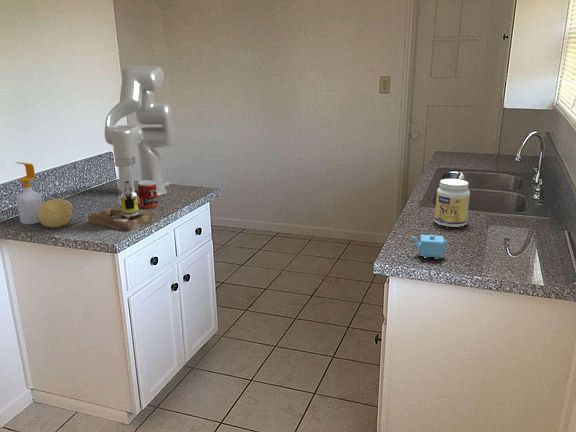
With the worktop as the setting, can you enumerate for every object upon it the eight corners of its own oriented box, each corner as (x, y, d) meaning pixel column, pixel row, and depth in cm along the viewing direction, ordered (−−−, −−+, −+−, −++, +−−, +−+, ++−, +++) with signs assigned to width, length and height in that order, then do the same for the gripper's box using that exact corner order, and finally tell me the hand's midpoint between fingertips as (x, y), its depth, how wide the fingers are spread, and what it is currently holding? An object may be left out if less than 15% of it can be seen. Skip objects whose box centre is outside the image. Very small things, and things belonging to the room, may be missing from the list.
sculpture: (58, 231, 203) (54, 204, 199) (33, 228, 207) (29, 201, 203) (79, 222, 213) (75, 196, 209) (55, 219, 217) (51, 194, 213)
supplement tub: (432, 226, 204) (435, 184, 198) (436, 217, 214) (439, 176, 209) (465, 230, 199) (470, 187, 194) (467, 220, 210) (472, 179, 205)
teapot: (409, 258, 174) (410, 237, 172) (409, 251, 180) (410, 230, 178) (447, 261, 172) (449, 239, 169) (446, 254, 177) (448, 233, 175)
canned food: (145, 210, 227) (142, 185, 224) (136, 206, 233) (134, 182, 230) (161, 206, 232) (159, 182, 229) (152, 202, 238) (150, 179, 234)
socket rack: (115, 213, 224) (114, 205, 223) (154, 220, 214) (153, 213, 213) (88, 222, 212) (87, 214, 211) (129, 231, 202) (128, 223, 201)
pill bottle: (134, 217, 206) (131, 190, 202) (119, 216, 207) (116, 189, 203) (141, 212, 212) (138, 185, 208) (127, 211, 213) (124, 185, 209)
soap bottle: (15, 223, 212) (4, 163, 205) (33, 216, 220) (23, 158, 213) (33, 225, 209) (22, 164, 202) (50, 218, 217) (40, 160, 210)
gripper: (115, 157, 209) (120, 201, 215) (114, 166, 194) (119, 213, 199) (135, 156, 211) (139, 199, 217) (135, 165, 196) (140, 211, 201)
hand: (130, 205), depth 208 cm, fingers closed on pill bottle, 6 cm apart
